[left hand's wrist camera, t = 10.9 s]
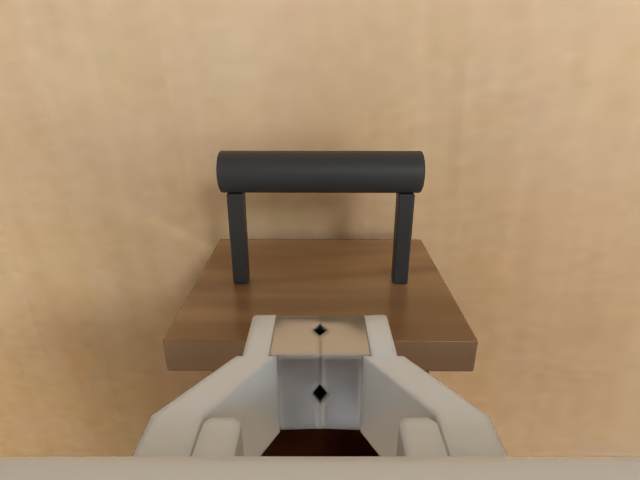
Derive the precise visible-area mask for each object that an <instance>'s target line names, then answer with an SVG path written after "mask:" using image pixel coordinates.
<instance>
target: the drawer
mask: <svg viewBox="0 0 640 480" xmlns="http://www.w3.org/2000/svg"><path fill="white" fill-rule="evenodd" d="M216 170H217V182H218V186H219V189H220V191H221V192H228V193H227V205H228V218H229V231H230V239H221V240H220V241H219V243H218V245H217V246H216V248H215V250H214V252H213V254H212V255H211V257H210V259H209V261H208V262H207V264H206V266H205V268H204V269H203V271H202V273H201V275H200V276H199V278H198V280H197V282H196V284H195V285H194V287H193V289H192V291H191V292H190V294H189V296H188V298H187V299H186V301H185V303H184V305H183V307H182V308H181V310H180V312H179V314H178V315H177V317H176V319H175V321H174V322H173V324H172V326H171V328H170V330H169V331H168V333H167V335H166V337H165V338H164V340H163V342H164V349H165V356H166V362H167V369H168V370H169V371H212V373H213V372H214V371H216V370H217V369H219V368H220V367H221V366H223V365H224V364H226V363H227V362H229V361H230V360H231V359H233V358H234V357H236V356H243V352H244V349H245V345H246V341H247V337H248V334H249V330H250V326H251V322H252V319H253V317H254V316H255V315H276V316H277V315H297V316H356V315H386V316H387V319H388V323H389V327H390V330H391V334H392V338H393V341H394V345H395V349H396V353H397V356H404V357H406V358H407V359H409V360H410V361H411V362H413V363H414V364H416V365H417V366H419V367H420V368H421V369H423V370H424V371H426V372H427V373H428V374H429V371H473V369H474V363H475V356H476V350H477V343H478V341H477V339H476V337H475V335H474V333H473V332H472V330H471V328H470V326H469V325H468V323H467V321H466V319H465V318H464V316H463V314H462V312H461V310H460V309H459V307H458V305H457V303H456V302H455V300H454V298H453V296H452V294H451V293H450V291H449V289H448V287H447V286H446V284H445V282H444V280H443V278H442V277H441V275H440V273H439V271H438V270H437V268H436V266H435V264H434V263H433V261H432V259H431V257H430V255H429V254H428V252H427V250H426V248H425V247H424V245H423V243H422V241H421V240H411V235H412V223H413V210H414V198H415V195H414V193H419V192H421V191H422V188H423V185H424V179H425V160H424V155H423V153H422V152H421V151H220V152H219V154H218V157H217V168H216ZM245 192H271V193H397V195H396V210H395V225H394V240H286V239H248V237H247V221H246V205H245ZM261 456H379V455H378V453H377V452H376V451H375V449H374V448H373V447H372V446H371V444H370V443H369V442H368V441H367V439H366V438H365V437H364V436H363V434H362V433H361V432H360V430H352V429H288V430H280V432H279V434H278V435H277V436H276V437H275V439H274V440H273V441H272V442H271V444H270V445H269V446H268V447H267V449H266V450H265V451H264V452H263V454H262V455H261Z"/></svg>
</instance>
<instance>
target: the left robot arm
mask: <svg viewBox="0 0 640 480" xmlns="http://www.w3.org/2000/svg"><path fill="white" fill-rule="evenodd" d="M288 429H352V430H360V432H361V433H362V434H363V436H364V437H365V438H366V439H367V441H368V442H369V443H370V444H371V446H372V447H373V448H374V449H375V451H376V452H377V453H378V455H379V456H261V455H262V454H263V452H264V451H265V450H266V449H267V447H268V446H269V445H270V444H271V442H272V441H273V440H274V439H275V437H276V436H277V435H278V434H279V432H280V430H288ZM0 480H640V456H508V455H507V453H506V451H505V449H504V447H503V445H502V443H501V441H500V438H499V436H498V434H497V432H496V430H495V428H494V426H493V424H492V422H491V420H490V417H489V416H488V415H486V414H485V413H484V412H482V411H481V410H479V409H478V408H477V407H475V406H474V405H472V404H471V403H469V402H468V401H467V400H465V399H464V398H462V397H461V396H460V395H458V394H457V393H455V392H454V391H452V390H451V389H450V388H448V387H447V386H445V385H444V384H443V383H441V382H440V381H438V380H437V379H436V378H434V377H433V376H431V375H430V374H428V373H427V372H426V371H424V370H423V369H421V368H420V367H419V366H417V365H416V364H414V363H413V362H411V361H410V360H409V359H407V358H406V357H404V356H397V353H396V349H395V345H394V341H393V338H392V334H391V330H390V327H389V323H388V319H387V316H386V315H356V316H297V315H277V316H276V315H255V316H254V317H253V319H252V322H251V326H250V330H249V334H248V337H247V341H246V345H245V349H244V352H243V356H236V357H234V358H233V359H231V360H230V361H229V362H227V363H226V364H224V365H223V366H221V367H220V368H219V369H217V370H216V371H214V372H213V373H211V374H210V375H209V376H207V377H206V378H204V379H203V380H202V381H200V382H199V383H197V384H196V385H194V386H193V387H192V388H190V389H189V390H187V391H186V392H184V393H183V394H182V395H180V396H179V397H177V398H176V399H175V400H173V401H172V402H170V403H169V404H167V405H166V406H165V407H163V408H162V409H160V410H159V411H157V412H156V413H155V414H153V415H152V416H151V418H150V420H149V422H148V424H147V426H146V428H145V430H144V432H143V435H142V437H141V439H140V441H139V443H138V445H137V447H136V449H135V451H134V453H133V455H132V456H0Z"/></svg>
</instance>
